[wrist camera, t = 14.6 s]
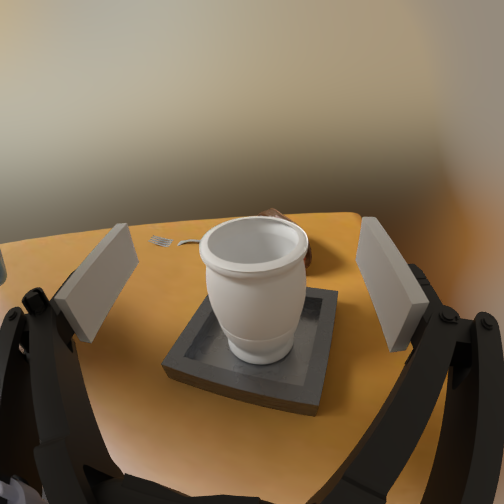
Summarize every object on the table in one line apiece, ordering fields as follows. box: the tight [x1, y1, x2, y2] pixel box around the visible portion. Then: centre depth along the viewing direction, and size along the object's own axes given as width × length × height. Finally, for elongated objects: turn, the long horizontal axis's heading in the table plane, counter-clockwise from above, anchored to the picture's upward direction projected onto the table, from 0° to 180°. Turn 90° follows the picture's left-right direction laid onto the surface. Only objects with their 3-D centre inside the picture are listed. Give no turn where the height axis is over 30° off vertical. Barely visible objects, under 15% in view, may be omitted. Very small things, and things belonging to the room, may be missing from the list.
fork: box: [149, 235, 201, 247], centre depth 57 cm, size 3×24×2 cm, turn 81°
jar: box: [199, 216, 308, 365], centre depth 30 cm, size 11×10×15 cm
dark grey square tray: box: [161, 287, 338, 416], centre depth 33 cm, size 18×18×3 cm
